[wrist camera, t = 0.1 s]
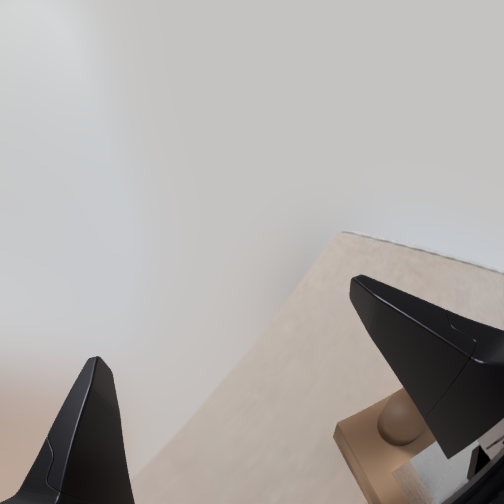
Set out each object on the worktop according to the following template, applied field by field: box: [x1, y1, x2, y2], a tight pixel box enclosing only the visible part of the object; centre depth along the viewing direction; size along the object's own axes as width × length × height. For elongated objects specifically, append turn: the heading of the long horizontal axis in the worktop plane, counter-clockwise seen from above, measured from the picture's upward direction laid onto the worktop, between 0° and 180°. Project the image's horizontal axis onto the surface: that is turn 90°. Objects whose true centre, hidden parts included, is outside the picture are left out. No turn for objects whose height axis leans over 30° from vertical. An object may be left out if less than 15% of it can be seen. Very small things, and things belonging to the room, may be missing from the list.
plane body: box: [333, 387, 436, 504], centre depth 11 cm, size 18×8×6 cm, turn 17°
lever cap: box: [391, 440, 479, 504], centre depth 9 cm, size 7×5×5 cm
